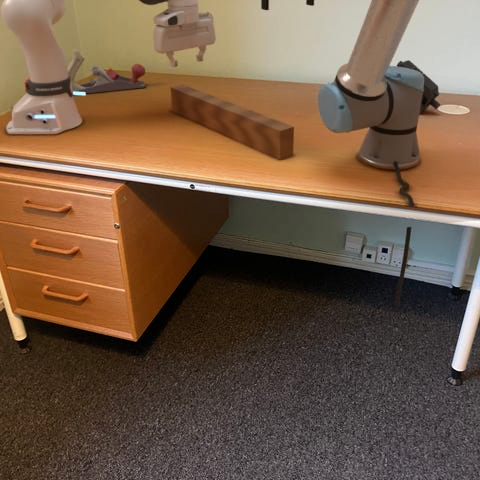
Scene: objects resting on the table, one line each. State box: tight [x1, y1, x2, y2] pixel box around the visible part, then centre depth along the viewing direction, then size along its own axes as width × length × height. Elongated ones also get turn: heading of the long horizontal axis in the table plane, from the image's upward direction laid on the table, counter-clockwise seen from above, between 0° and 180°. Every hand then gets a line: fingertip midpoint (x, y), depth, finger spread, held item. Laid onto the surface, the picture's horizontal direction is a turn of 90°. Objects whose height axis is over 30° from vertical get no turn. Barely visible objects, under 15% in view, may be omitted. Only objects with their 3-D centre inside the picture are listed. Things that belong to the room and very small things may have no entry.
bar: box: [169, 84, 295, 161], centre depth 157 cm, size 53×5×8 cm, turn 38°
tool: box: [396, 59, 442, 114], centre depth 170 cm, size 6×19×15 cm, turn 51°
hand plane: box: [67, 48, 146, 94], centre depth 194 cm, size 7×31×15 cm, turn 107°
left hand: (187, 63), depth 163 cm, fingers open, 8 cm apart
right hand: (287, 7), depth 140 cm, fingers open, 13 cm apart
